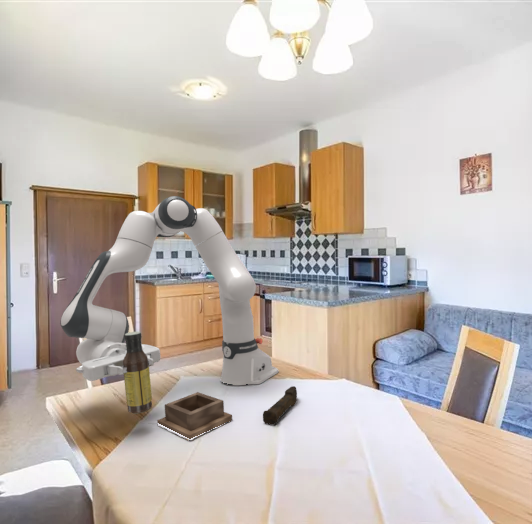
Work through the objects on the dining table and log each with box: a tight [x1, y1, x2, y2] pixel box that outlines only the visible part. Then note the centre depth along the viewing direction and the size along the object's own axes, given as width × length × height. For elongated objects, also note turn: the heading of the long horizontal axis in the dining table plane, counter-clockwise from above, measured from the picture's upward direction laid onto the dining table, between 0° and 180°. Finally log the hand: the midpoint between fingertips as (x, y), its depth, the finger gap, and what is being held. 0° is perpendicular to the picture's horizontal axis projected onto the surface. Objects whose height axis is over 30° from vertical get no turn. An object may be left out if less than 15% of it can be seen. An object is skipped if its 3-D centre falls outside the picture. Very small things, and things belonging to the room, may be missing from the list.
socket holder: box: [156, 391, 233, 439], centre depth 99 cm, size 14×14×6 cm
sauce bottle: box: [123, 331, 153, 415], centre depth 95 cm, size 6×6×20 cm
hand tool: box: [262, 385, 298, 426], centre depth 104 cm, size 19×4×5 cm, turn 151°
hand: (138, 366), depth 95 cm, fingers closed on sauce bottle, 6 cm apart
